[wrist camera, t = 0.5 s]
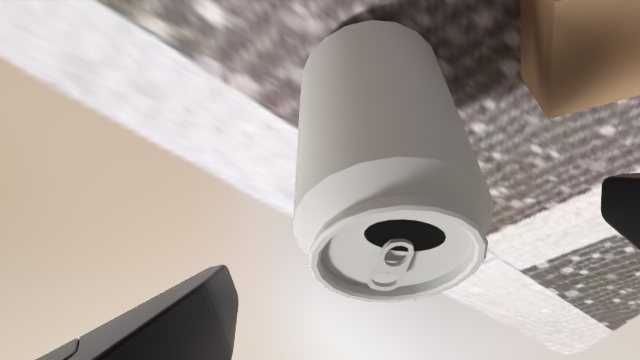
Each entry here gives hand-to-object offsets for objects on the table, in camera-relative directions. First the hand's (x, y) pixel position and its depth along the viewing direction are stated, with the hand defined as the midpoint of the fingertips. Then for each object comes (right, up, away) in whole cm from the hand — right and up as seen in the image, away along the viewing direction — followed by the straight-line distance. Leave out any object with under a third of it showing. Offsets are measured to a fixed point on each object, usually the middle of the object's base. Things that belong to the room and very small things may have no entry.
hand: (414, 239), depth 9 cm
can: (+1, +7, +13) cm, 15 cm away
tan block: (+11, +10, +10) cm, 18 cm away
